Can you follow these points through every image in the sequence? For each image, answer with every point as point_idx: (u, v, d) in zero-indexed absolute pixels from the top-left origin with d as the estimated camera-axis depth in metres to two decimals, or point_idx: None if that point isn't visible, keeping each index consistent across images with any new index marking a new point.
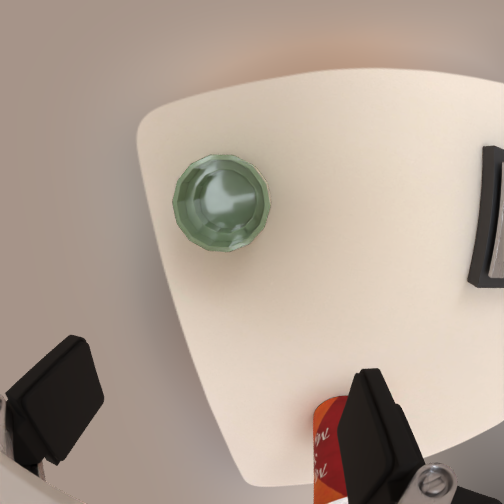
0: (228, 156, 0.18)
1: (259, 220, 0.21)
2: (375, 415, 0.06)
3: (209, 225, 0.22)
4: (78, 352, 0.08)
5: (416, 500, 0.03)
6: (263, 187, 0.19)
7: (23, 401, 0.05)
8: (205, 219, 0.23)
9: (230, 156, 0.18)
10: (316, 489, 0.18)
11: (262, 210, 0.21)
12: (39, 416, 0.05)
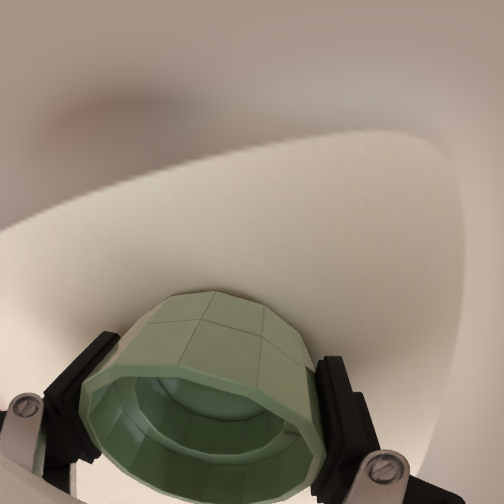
0: (313, 477, 0.06)
1: (176, 452, 0.08)
2: (330, 399, 0.07)
3: None
4: None
5: (367, 489, 0.04)
6: None
7: (63, 399, 0.06)
8: None
9: (312, 480, 0.06)
10: None
11: (196, 458, 0.08)
12: (78, 414, 0.06)
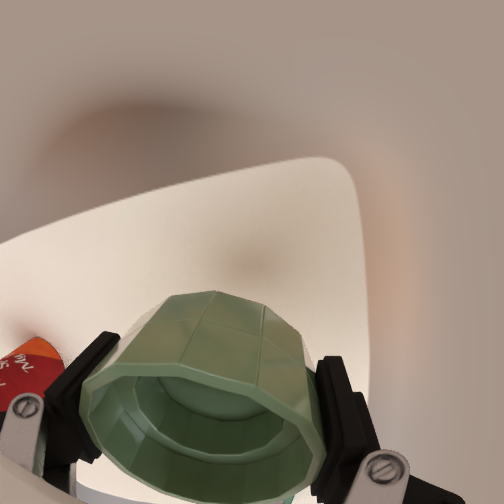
0: (313, 477, 0.06)
1: (176, 451, 0.08)
2: (330, 399, 0.07)
3: None
4: None
5: (367, 489, 0.04)
6: None
7: (63, 399, 0.06)
8: None
9: (312, 479, 0.06)
10: None
11: (196, 457, 0.08)
12: (78, 414, 0.06)
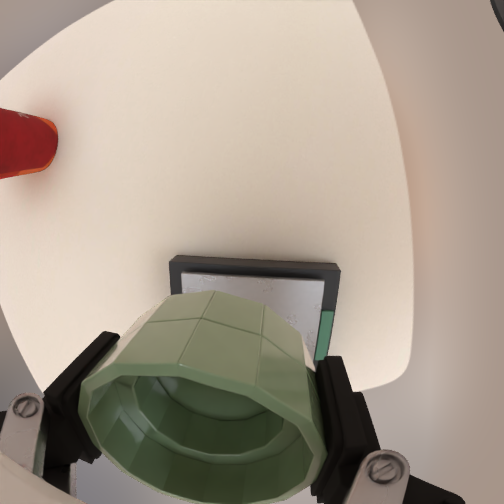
0: (313, 477, 0.06)
1: (176, 451, 0.08)
2: (330, 399, 0.07)
3: None
4: None
5: (367, 489, 0.04)
6: None
7: (63, 399, 0.06)
8: None
9: (313, 479, 0.06)
10: None
11: (196, 458, 0.08)
12: (78, 414, 0.06)
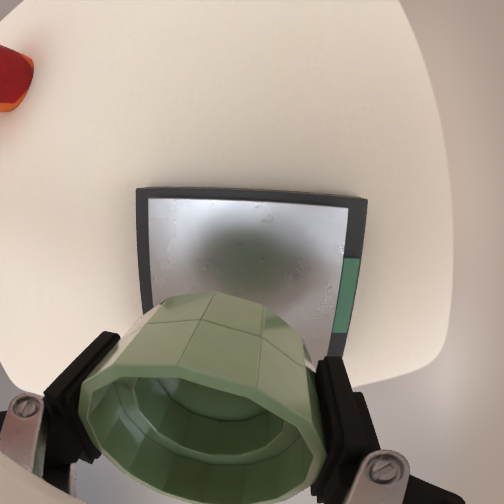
0: (313, 478, 0.06)
1: (176, 452, 0.08)
2: (330, 399, 0.07)
3: None
4: None
5: (367, 489, 0.04)
6: None
7: (63, 399, 0.06)
8: None
9: (312, 480, 0.06)
10: None
11: (196, 458, 0.08)
12: None
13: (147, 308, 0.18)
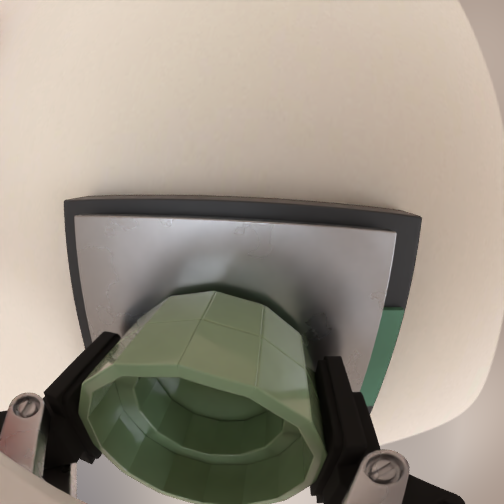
0: (313, 477, 0.06)
1: (176, 452, 0.08)
2: (330, 399, 0.07)
3: None
4: None
5: (367, 489, 0.04)
6: None
7: (63, 399, 0.06)
8: None
9: (312, 480, 0.06)
10: None
11: (196, 458, 0.08)
12: (78, 414, 0.06)
13: None
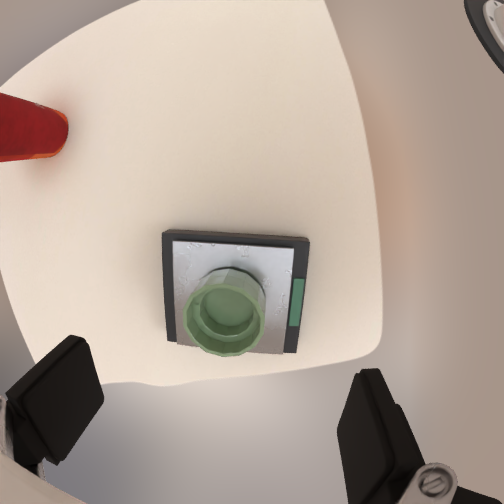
0: (262, 331, 0.23)
1: (211, 337, 0.25)
2: (375, 415, 0.06)
3: None
4: (78, 352, 0.08)
5: (416, 500, 0.03)
6: (236, 353, 0.23)
7: (23, 401, 0.05)
8: None
9: (262, 332, 0.23)
10: None
11: (219, 339, 0.25)
12: (39, 416, 0.05)
13: (168, 309, 0.29)
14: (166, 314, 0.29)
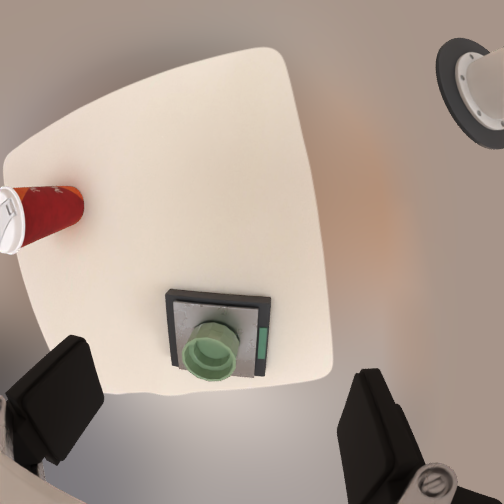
0: (234, 366, 0.33)
1: (202, 367, 0.35)
2: (375, 415, 0.06)
3: None
4: (78, 352, 0.08)
5: (416, 500, 0.03)
6: (218, 379, 0.34)
7: (23, 401, 0.05)
8: None
9: (234, 367, 0.33)
10: None
11: (208, 368, 0.35)
12: (39, 416, 0.05)
13: (172, 344, 0.39)
14: (170, 348, 0.39)
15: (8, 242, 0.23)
